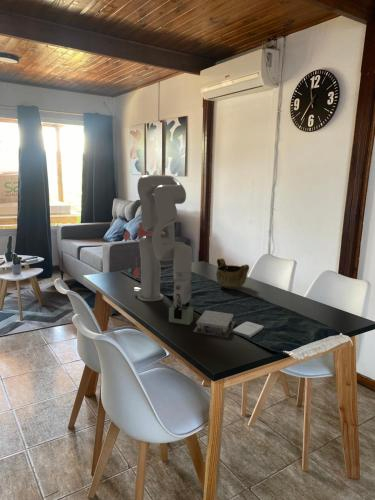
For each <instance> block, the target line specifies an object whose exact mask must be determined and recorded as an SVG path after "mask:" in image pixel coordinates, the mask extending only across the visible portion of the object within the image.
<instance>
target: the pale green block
mask: <svg viewBox="0 0 375 500" xmlns="http://www.w3.org/2000/svg"><path fill="white" fill-rule="evenodd" d="M181 310H182V319H174V304H172V305H171V306H170V307H169V308H168V323H173V324H181V325H191V323H192V322H193V321H194V320H193V319H194V307H193V306H189V307H188V306H182V307H181Z"/></svg>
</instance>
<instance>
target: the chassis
mask: <svg viewBox="0 0 375 500" xmlns="http://www.w3.org/2000/svg"><path fill="white" fill-rule="evenodd" d="M233 318H234V313H227V312H222V311H221V312H220V311H213V310H208V309H207V310H204V311H203V313H202V315H200V317H199V318H198V319H197V321H196V322H195V323H196V326H195V328H194V329H193V331H192V332H193V333H195V334H203V335H209V336H215V337H220V338H221V337H222V338H226V339H227V338H229V337H230V334H231V330H233V329H234V328H235V325H236V321H233Z"/></svg>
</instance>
